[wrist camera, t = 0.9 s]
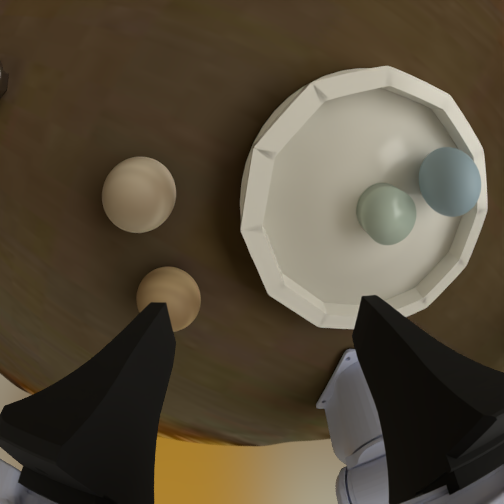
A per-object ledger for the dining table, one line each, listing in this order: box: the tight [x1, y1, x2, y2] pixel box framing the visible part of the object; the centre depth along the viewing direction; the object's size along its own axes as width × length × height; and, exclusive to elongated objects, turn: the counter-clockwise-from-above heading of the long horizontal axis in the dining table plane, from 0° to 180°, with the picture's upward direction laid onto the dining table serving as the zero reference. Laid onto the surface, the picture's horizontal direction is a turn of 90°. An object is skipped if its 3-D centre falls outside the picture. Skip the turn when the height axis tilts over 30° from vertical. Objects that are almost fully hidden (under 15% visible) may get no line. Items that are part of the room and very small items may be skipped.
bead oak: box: [136, 267, 201, 332], centre depth 19 cm, size 4×4×4 cm
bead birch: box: [102, 157, 176, 233], centre depth 16 cm, size 4×4×4 cm
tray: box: [240, 66, 487, 329], centre depth 17 cm, size 18×18×3 cm
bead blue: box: [419, 147, 481, 217], centre depth 15 cm, size 4×4×4 cm
